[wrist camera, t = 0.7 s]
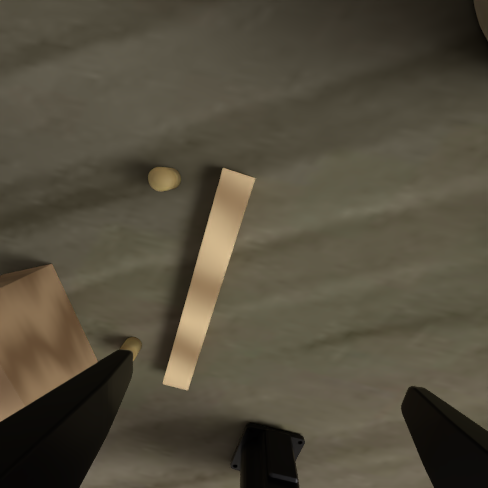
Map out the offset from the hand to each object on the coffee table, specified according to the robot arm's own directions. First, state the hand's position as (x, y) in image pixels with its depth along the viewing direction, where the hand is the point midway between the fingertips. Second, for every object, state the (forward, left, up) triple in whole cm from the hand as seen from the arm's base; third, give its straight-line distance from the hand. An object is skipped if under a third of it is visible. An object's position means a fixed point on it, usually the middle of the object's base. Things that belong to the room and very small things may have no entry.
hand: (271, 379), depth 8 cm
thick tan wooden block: (-12, +16, -14) cm, 24 cm away
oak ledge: (-4, +5, -13) cm, 15 cm away
